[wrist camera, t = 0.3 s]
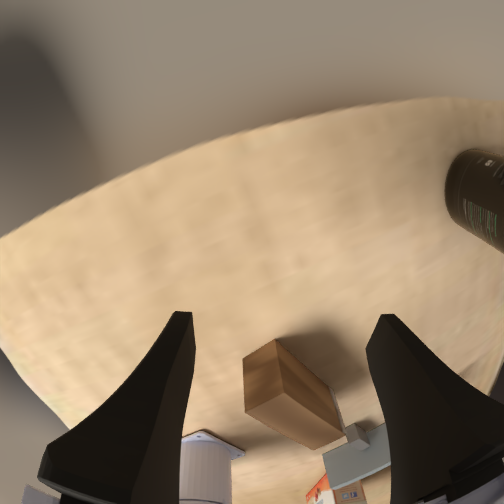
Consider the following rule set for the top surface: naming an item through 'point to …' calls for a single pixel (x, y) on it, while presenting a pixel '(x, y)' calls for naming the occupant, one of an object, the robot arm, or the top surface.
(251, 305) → the top surface
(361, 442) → the grey plank with pegs
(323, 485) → the cracker box
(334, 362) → the top surface
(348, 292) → the top surface
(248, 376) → the block
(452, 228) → the top surface
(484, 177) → the supplement bottle
